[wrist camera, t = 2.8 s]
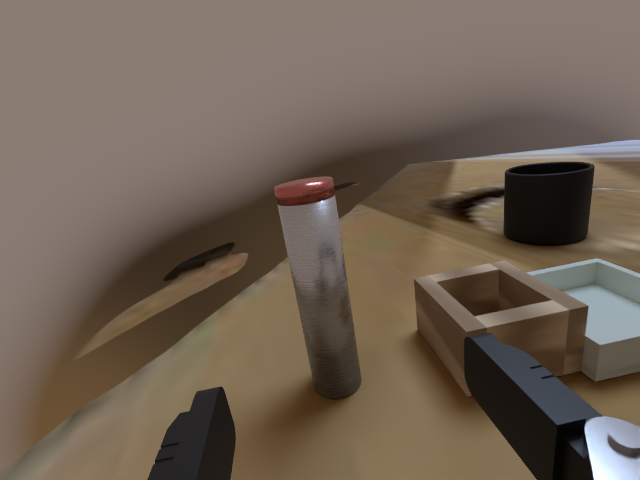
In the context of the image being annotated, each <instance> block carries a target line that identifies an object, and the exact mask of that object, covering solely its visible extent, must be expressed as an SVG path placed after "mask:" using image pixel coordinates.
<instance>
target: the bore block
mask: <svg viewBox="0 0 640 480" xmlns="http://www.w3.org/2000/svg"><path fill="white" fill-rule="evenodd" d="M414 286H415V299H416V313H417V327H418V330H419V332H420V333H421V334H422V336H423V337H424V339H425V340H426V341H427V343H428V344H429V345H430V347H431V348H432V349H433V351H434V352H435V353H436V355H437V356H438V358H439V359H440V360H441V362H442V363H443V364H444V366H445V367H446V368H447V370H448V371H449V372H450V374H451V375H452V377H453V378H454V379H455V381H456V382H457V383H458V385H459V386H460V387H461V389H462V390H463V391H464V393H465V394H466V396H467V397H470V396H472V394H471V393H470V391H469V389H468V387H467V384H466V381H465V376H464V339H465V337H468V336H473V335H477V334H482V333H491V334H492V335H494V336H495V337H496V338H497V339H498V340H499V341H500V342H501V343H503V344H504V345H505V346H506V345H512V346H514V347H516V348H518V349H520V350H522V351H524V352H526V353H528V354H529V355H530V356H532V357H533V358H534V359H535V360H536V361H538V362H539V363H540V364H541V365H542V367H545V368H546V369H547V370H548V371H549V372H551V373H552V374H553V376H554V377H558V376H562V375H567V374H571V373H576V372H580V371H581V369H582V360H583V351H584V343H585V334H586V325H587V316H588V308H589V306H588V305H586V304H585V303H583V302H581V301H579V300H577V299H575V298H573V297H571V296H569V295H568V294H566V293H564V292H562V291H560V290H558V289H556V288H554V287H552V286H551V285H549V284H547V283H545V282H543V281H541V280H539V279H537V278H536V277H534V276H532V275H530V274H528V273H526V272H524V271H522V270H520V269H519V268H517V267H515V266H513V265H511V264H509V263H507V262H505V261H499V262H494V263H489V264H484V265H479V266H474V267H469V268H464V269H459V270H454V271H449V272H444V273H439V274H434V275H429V276H424V277H419V278H414Z"/></svg>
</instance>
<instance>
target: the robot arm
mask: <svg viewBox="0 0 640 480" xmlns="http://www.w3.org/2000/svg"><path fill="white" fill-rule="evenodd" d="M464 376H465V381H466V384H467V387H468V389H469V391H470V393H471V394H472V396H473V397H474V398H475V400H476V401H477V402H478V404H479V405H480V406H481V407H482V409H483V410H484V411H485V413H486V414H487V415H488V417H489V418H490V419H491V420H492V422H493V423H494V424H495V426H496V427H497V428H498V430H499V431H500V432H501V433H502V435H503V436H504V437H505V439H506V440H507V441H508V443H509V444H510V445H511V447H512V448H513V449H514V450H515V452H516V453H517V454H518V456H519V457H520V458H521V460H522V461H523V462H524V463H525V465H526V466H527V467H528V469H529V470H530V471H531V473H532V474H533V475H534V476H535V478H536V479H537V480H640V427H638V426H636V425H634V424H632V423H629V422H627V421H624V420H621V419H617V418H612V417H603V416H602V415H601V414H599V413H598V412H597V411H596V410H595V409H593V408H592V407H591V406H590V405H589V404H588V403H586V402H585V401H584V400H583V399H582V398H580V397H579V396H578V395H577V394H576V393H574V392H573V391H572V390H571V389H570V388H569V387H567V386H566V385H565V384H564V383H563V382H561V381H560V380H559V379H558V378H557V377H554V376H553V374H552V373H551V372H549V371H548V370H547V369H546V368H545V367H542V365H541V364H540V363H539V362H538V361H536V360H535V359H534V358H533V357H532V356H530V355H529V354H528V353H526V352H524V351H522V350H520V349H518V348H516V347H514V346H512V345H506V346H505V345H504V344H503V343H501V342H500V341H499V340H498V339H497V338H496V337H495V336H494V335H492V334H491V333H482V334H477V335H473V336H468V337H465V339H464ZM235 440H236V438H235V426H234V422H233V419H232V415H231V412H230V408H229V405H228V401H227V398H226V395H225V391H224V389H223V387H217V388H212V389H207V390H202V391H198V392H197V393H196V394H195V397H194V400H193V403H192V406H191V409H190V411H188V412H183V413H180V414H179V415H178V416H177V418H176V419H175V420H174V421H173V423H172V424H171V425H170V427H169V428H168V429H167V432H166V434H165V437H164V439H163V442H162V444H161V449H160V450H159V452H158V454H157V457H156V459H155V464H154V465H153V467H152V469H151V472H150V475H149V477H148V480H230V478H231V471H232V464H233V457H234V451H235Z"/></svg>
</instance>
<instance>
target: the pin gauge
mask: <svg viewBox="0 0 640 480" xmlns="http://www.w3.org/2000/svg"><path fill="white" fill-rule="evenodd" d="M274 189H275V194H276V199H277V204H278V209H279V214H280V219H281V224H282V228H283V233H284V239H285V244H286V249H287V254H288V259H289V264H290V269H291V274H292V279H293V284H294V289H295V293H296V298H297V303H298V308H299V313H300V318H301V323H302V328H303V333H304V338H305V343H306V348H307V353H308V358H309V363H310V368H311V373H312V378H313V383H314V388H315V390H316V391H317V393H318V394H320V395H321V396H323V397H325V398H329V399H341V398H345V397H348V396H350V395H351V394H353V393H354V392H355V391H356V390H357V389H358V388H359V386H360V384H361V373H360V366H359V359H358V352H357V345H356V338H355V331H354V324H353V317H352V310H351V303H350V296H349V289H348V282H347V275H346V268H345V261H344V254H343V247H342V240H341V234H340V227H339V220H338V213H337V206H336V199H335V192H334V185H333V178H332V177H314V178H307V179H301V180H295V181H291V182H287V183H283V184H280V185H277V186H275V188H274Z"/></svg>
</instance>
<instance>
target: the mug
mask: <svg viewBox="0 0 640 480" xmlns="http://www.w3.org/2000/svg"><path fill="white" fill-rule="evenodd" d="M593 176H594V165H593V164H590V163H584V162H547V163H536V164H528V165H522V166H517V167H513V168H510V169H508V170H506V171H505V195H504V233H505V235H506V236H507V237H509V238H510V239H513V240H516V241H519V242H524V243H529V244H538V245H559V244H568V243H574V242H577V241H580V240H582V239H584V238H585V237H586V235H587V233H588V224H589V214H590V205H591V195H592V186H593Z"/></svg>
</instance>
